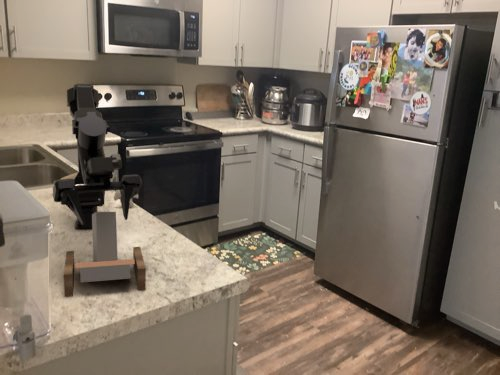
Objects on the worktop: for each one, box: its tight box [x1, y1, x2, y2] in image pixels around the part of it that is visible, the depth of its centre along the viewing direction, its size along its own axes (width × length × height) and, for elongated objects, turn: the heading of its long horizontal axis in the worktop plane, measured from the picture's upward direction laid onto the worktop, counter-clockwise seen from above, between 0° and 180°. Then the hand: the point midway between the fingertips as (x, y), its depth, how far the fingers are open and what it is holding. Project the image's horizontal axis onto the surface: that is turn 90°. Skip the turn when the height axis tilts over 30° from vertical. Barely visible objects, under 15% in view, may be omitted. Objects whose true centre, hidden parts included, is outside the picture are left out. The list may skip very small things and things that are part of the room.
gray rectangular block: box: [91, 211, 119, 262], centre depth 106 cm, size 4×4×11 cm
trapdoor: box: [74, 258, 135, 283], centre depth 102 cm, size 10×12×4 cm
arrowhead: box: [113, 190, 139, 209], centre depth 151 cm, size 8×3×10 cm, turn 113°
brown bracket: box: [63, 246, 147, 298], centre depth 103 cm, size 12×16×5 cm
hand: (105, 221), depth 101 cm, fingers open, 9 cm apart
